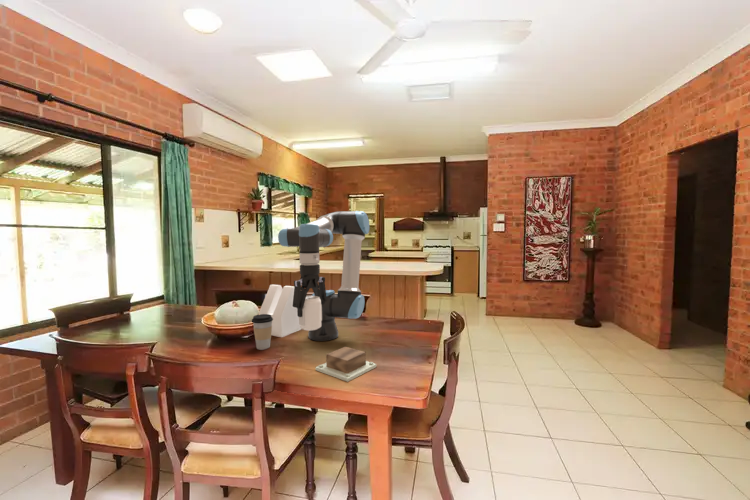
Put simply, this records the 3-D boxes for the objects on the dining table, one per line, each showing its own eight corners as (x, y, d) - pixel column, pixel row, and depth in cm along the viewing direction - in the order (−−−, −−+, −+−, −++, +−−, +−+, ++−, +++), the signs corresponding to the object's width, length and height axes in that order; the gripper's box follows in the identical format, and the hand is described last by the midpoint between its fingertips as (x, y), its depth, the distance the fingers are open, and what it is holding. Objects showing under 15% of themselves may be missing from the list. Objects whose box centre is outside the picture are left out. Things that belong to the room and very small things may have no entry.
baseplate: (315, 370, 136) (315, 365, 136) (345, 357, 150) (345, 353, 150) (347, 381, 126) (347, 376, 126) (376, 366, 139) (376, 362, 139)
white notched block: (284, 325, 200) (283, 282, 198) (306, 328, 193) (305, 284, 191) (259, 334, 183) (258, 287, 181) (281, 338, 176) (280, 289, 174)
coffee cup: (277, 345, 165) (277, 314, 164) (265, 352, 156) (264, 319, 155) (260, 343, 168) (260, 313, 167) (247, 350, 159) (246, 317, 158)
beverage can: (301, 325, 139) (301, 295, 138) (322, 324, 140) (321, 295, 139) (298, 331, 131) (298, 300, 130) (320, 331, 132) (319, 299, 131)
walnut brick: (326, 366, 137) (326, 354, 137) (345, 358, 146) (345, 346, 145) (347, 373, 130) (347, 360, 130) (365, 364, 139) (365, 352, 139)
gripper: (293, 267, 123) (295, 330, 125) (335, 262, 139) (336, 318, 141) (281, 265, 128) (282, 326, 130) (323, 261, 144) (324, 315, 145)
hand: (310, 322), depth 135 cm, fingers closed on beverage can, 8 cm apart
